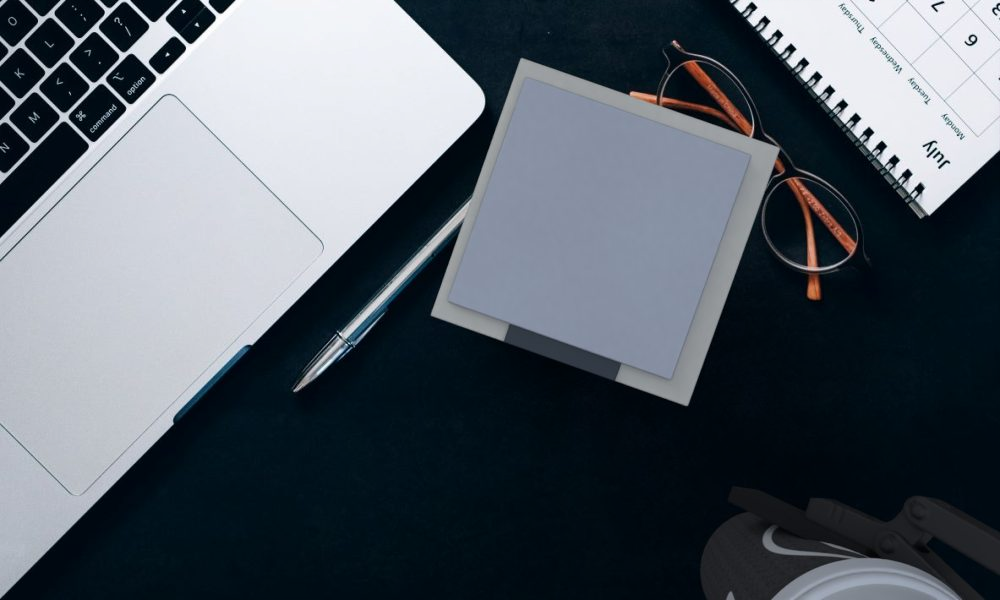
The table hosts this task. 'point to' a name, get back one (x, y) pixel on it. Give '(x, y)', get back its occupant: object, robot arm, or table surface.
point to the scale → (604, 231)
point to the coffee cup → (803, 568)
